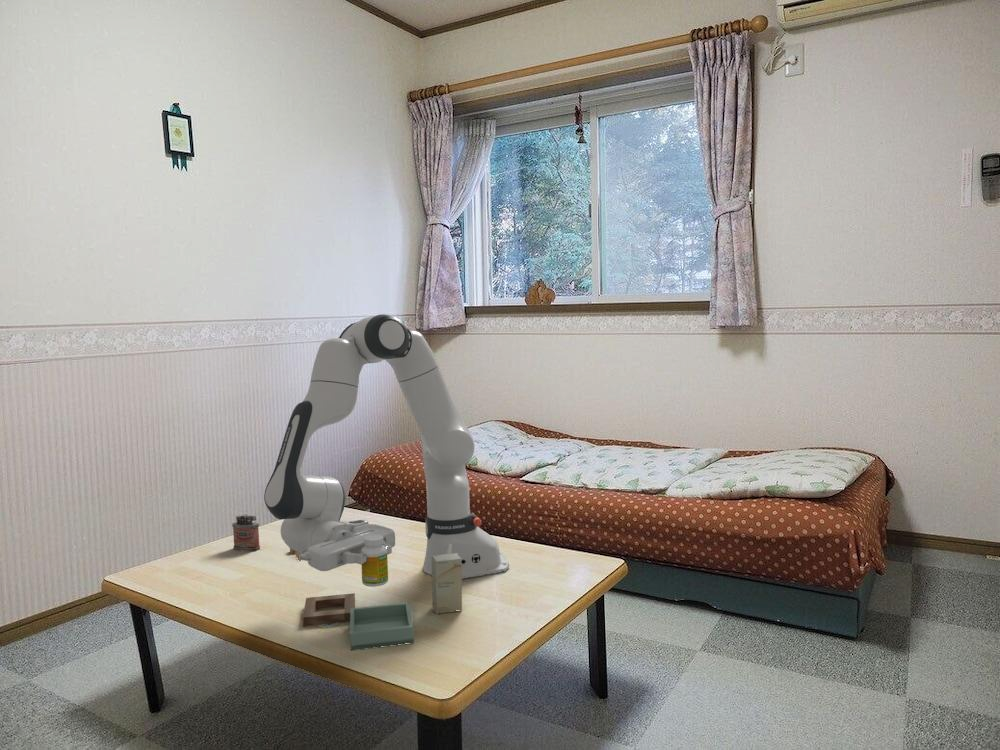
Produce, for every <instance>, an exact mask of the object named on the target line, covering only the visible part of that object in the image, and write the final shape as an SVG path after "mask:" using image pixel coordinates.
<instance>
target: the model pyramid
mask: <svg viewBox="0 0 1000 750" xmlns="http://www.w3.org/2000/svg"><path fill="white" fill-rule="evenodd" d="M289 552H290V554H291V555H294V556H295V555H296V556H295V557H297V558H298V559H297V558H296V559H297V561H298V560H299V561H298V562H302V561H301V560H302V559H300V557H299V556H300V554H302V553H299V552H297V551H295V550H293V549H291V548H290V547H289ZM293 553H295V554H293Z"/></svg>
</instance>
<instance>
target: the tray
mask: <svg viewBox="0 0 1000 750" xmlns="http://www.w3.org/2000/svg"><path fill="white" fill-rule="evenodd" d="M349 625H350V626H349V629H350V630H349V638H350V651H356V650H355V649H360V650H366V649H365V648H369V649H374V648H373V647H378V648H382V647H381V646H387V647H391V646H390V645H396V646H399V645H398V644H405V643H414V644H415V633H414V632H415V631H414V628H415V627H414V622H413V617H412V611H411V607H410V602H401V603H391V604H390V603H389V604H382V605H381V604H380V605H379V604H378V605H372V606H371V605H370V606H363V607H362V606H360V607H359V606H358V607H355V608H350V622H349ZM405 645H406V644H405Z"/></svg>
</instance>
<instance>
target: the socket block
mask: <svg viewBox="0 0 1000 750" xmlns="http://www.w3.org/2000/svg"><path fill="white" fill-rule="evenodd" d="M342 607H344V608H343V609H333V608H342ZM350 608H356V594H355V592H354V593H343V594H342V593H341V594H333V595H332V594H331V595H324V596H323V595H321V596H314V597H313V596H311V597H305V603H304V609H303V614H302V625H303V626H302V627H303V628H304V627H313V626H321V625H330V624H341V623H350ZM322 609H332V610H323V611H317V610H322Z"/></svg>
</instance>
